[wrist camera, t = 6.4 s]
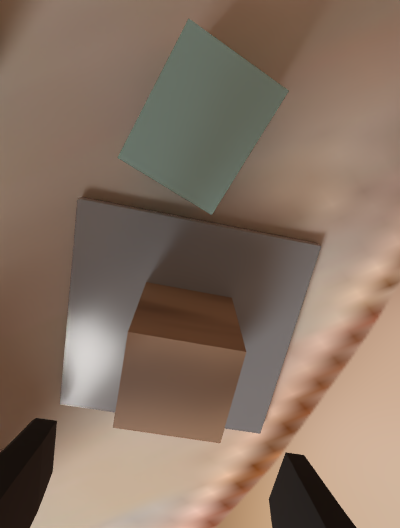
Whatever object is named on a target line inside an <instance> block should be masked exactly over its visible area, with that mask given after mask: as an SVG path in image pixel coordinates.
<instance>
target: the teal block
mask: <svg viewBox="0 0 400 528" xmlns="http://www.w3.org/2000/svg"><path fill="white" fill-rule="evenodd" d="M288 92H289V91H288V90H287V89H286V88H284V87H283V86H282V85H280V84H279V83H277V82H276V81H275V80H273V79H272V78H270V77H269V76H268V75H266V74H265V73H264V72H262V71H261V70H259V69H258V68H257V67H255V66H254V65H252V64H251V63H250V62H248V61H247V60H246V59H244V58H243V57H241V56H240V55H239V54H237V53H236V52H234V51H233V50H232V49H230V48H229V47H228V46H226V45H225V44H223V43H222V42H221V41H219V40H218V39H216V38H215V37H214V36H212V35H211V34H210V33H208V32H207V31H205V30H204V29H203V28H201V27H200V26H199V25H197V24H196V23H194V22H193V21H192V20H190V19H188V21H187V23H186V25H185V27H184V29H183V31H182V33H181V34H180V36H179V38H178V40H177V42H176V44H175V46H174V48H173V50H172V52H171V54H170V56H169V58H168V60H167V62H166V64H165V66H164V68H163V70H162V72H161V74H160V76H159V78H158V80H157V82H156V83H155V85H154V87H153V89H152V91H151V93H150V95H149V97H148V99H147V101H146V103H145V105H144V107H143V109H142V111H141V113H140V115H139V117H138V119H137V121H136V123H135V125H134V127H133V129H132V131H131V132H130V134H129V136H128V138H127V140H126V142H125V144H124V146H123V148H122V150H121V152H120V154H119V156H118V158H119V159H120V160H122V161H124V162H125V163H127V164H129V165H130V166H132V167H133V168H135V169H137V170H138V171H140V172H142V173H143V174H145V175H147V176H148V177H150V178H152V179H153V180H155V181H156V182H158V183H160V184H161V185H163V186H165V187H166V188H168V189H170V190H171V191H173V192H175V193H176V194H178V195H179V196H181V197H183V198H184V199H186V200H188V201H189V202H191V203H193V204H194V205H196V206H198V207H199V208H201V209H202V210H204V211H206V212H207V213H209V214H211V215H212V214H213V212H214V211H215V209H216V207H217V206H218V204H219V203H220V201H221V199H222V198H223V196H224V195H225V193H226V191H227V190H228V188H229V187H230V185H231V183H232V182H233V180H234V179H235V177H236V175H237V174H238V172H239V170H240V169H241V167H242V166H243V164H244V162H245V161H246V159H247V158H248V156H249V154H250V153H251V151H252V150H253V148H254V146H255V145H256V143H257V142H258V140H259V138H260V137H261V135H262V133H263V132H264V130H265V129H266V127H267V125H268V124H269V122H270V121H271V119H272V117H273V116H274V114H275V113H276V111H277V109H278V108H279V106H280V105H281V103H282V101H283V100H284V98H285V96H286V95H287V93H288Z"/></svg>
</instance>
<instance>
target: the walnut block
mask: <svg viewBox="0 0 400 528" xmlns="http://www.w3.org/2000/svg"><path fill="white" fill-rule="evenodd" d="M245 355H246V349H245V345H244V341H243V337H242V334H241V330H240V326H239V322H238V319H237V315H236V311H235V307H234V304H233V300H232V298H231V297H225V296H220V295H214V294H209V293H203V292H198V291H192V290H187V289H181V288H176V287H170V286H165V285H159V284H154V283H149V282H146V284H145V287H144V289H143V292H142V295H141V298H140V300H139V303H138V306H137V308H136V311H135V314H134V317H133V319H132V322H131V325H130V327H129V330H128V334H127V341H126V347H125V353H124V360H123V366H122V373H121V379H120V385H119V392H118V398H117V405H116V411H115V417H114V424H113V428H119V429H126V430H133V431H140V432H147V433H154V434H161V435H167V436H174V437H181V438H188V439H195V440H202V441H209V442H215V443H220V442H221V439H222V435H223V432H224V428H225V425H226V421H227V418H228V414H229V411H230V407H231V404H232V400H233V397H234V393H235V390H236V386H237V383H238V380H239V376H240V373H241V369H242V366H243V362H244V359H245Z"/></svg>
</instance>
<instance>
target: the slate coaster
mask: <svg viewBox="0 0 400 528" xmlns="http://www.w3.org/2000/svg"><path fill="white" fill-rule="evenodd" d="M320 248H321V246H320V245H319V244H317V243H314V242H309V241H303V240H298V239H293V238H288V237H283V236H278V235H273V234H268V233H263V232H258V231H253V230H247V229H242V228H237V227H232V226H227V225H222V224H217V223H212V222H207V221H202V220H196V219H191V218H186V217H181V216H176V215H171V214H166V213H161V212H156V211H151V210H146V209H140V208H135V207H130V206H125V205H120V204H115V203H110V202H105V201H100V200H95V199H90V198H84V197H80V198H78V200H77V212H76V223H75V235H74V246H73V258H72V270H71V281H70V293H69V304H68V316H67V327H66V339H65V351H64V362H63V374H62V385H61V397H60V404H62V405H69V406H75V407H82V408H89V409H96V410H103V411H110V412H115V411H116V405H117V398H118V392H119V385H120V379H121V373H122V366H123V360H124V353H125V347H126V341H127V334H128V330H129V327H130V325H131V322H132V319H133V317H134V314H135V311H136V308H137V306H138V303H139V300H140V298H141V295H142V292H143V289H144V287H145V284H146V282H149V283H154V284H159V285H165V286H170V287H176V288H181V289H187V290H192V291H198V292H203V293H209V294H214V295H220V296H225V297H231V298H232V300H233V304H234V307H235V311H236V315H237V319H238V322H239V326H240V330H241V334H242V337H243V341H244V345H245V349H246V355H245V359H244V362H243V366H242V369H241V373H240V376H239V380H238V383H237V386H236V390H235V393H234V397H233V400H232V404H231V407H230V411H229V414H228V418H227V421H226V425H225V428H226V429H232V430H239V431H246V432H253V433H261V429H262V426H263V423H264V420H265V417H266V414H267V411H268V408H269V405H270V402H271V399H272V396H273V393H274V390H275V386H276V383H277V380H278V377H279V374H280V371H281V368H282V365H283V362H284V359H285V356H286V353H287V350H288V347H289V344H290V340H291V337H292V334H293V331H294V328H295V325H296V322H297V319H298V316H299V313H300V310H301V307H302V304H303V301H304V297H305V294H306V291H307V288H308V285H309V282H310V279H311V276H312V273H313V270H314V267H315V264H316V261H317V258H318V254H319V251H320Z"/></svg>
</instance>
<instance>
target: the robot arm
mask: <svg viewBox="0 0 400 528" xmlns="http://www.w3.org/2000/svg"><path fill="white" fill-rule="evenodd" d="M56 425H57V421H54V420H47V419H39V418H36V419H34V420H32V421H31V422H30V423H29V425H28V426H27V427H26V428H25V429H24V430H23V431H22V432H21V433H20V434H19V435H18V436H17V437H16V438H15V439H14V440H13V441H12V442H11V443H10V444H9V445H8V446H7V447H6V448H5V449H4V450H3V451H1V452H0V528H30V526H31V524H32V522H33V520H34V518H35V516H36V514H37V512H38V509H39V506H40V504H41V501H42V499H43V496H44V493H45V491H46V488H47V485H48V483H49V480H50V477H51V474H52V471H53V460H54V448H55V437H56ZM269 503H270V512H271V521H272V527H273V528H356V526H355V525H354V524H353V523H352V521H351V520H350V518H349V517H348V516H347V515H346V513H345V512H344V510H343V509H342V508H341V506H340V505H339V504H338V502H337V501H336V500H335V498H334V497H333V495H332V494H331V492H330V491H329V490H328V488H327V487H326V486H325V484H324V483H323V481H322V480H321V478H320V477H319V476H318V474H317V473H316V471H315V470H314V469H313V467H312V466H311V465H310V463H309V462H308V460H307V459H306V457H305V456H304V455H299V454H292V453H285V456H284V459H283V462H282V464H281V467H280V470H279V473H278V475H277V478H276V481H275V484H274V486H273V490H272V492H271V495H270V497H269Z"/></svg>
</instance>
